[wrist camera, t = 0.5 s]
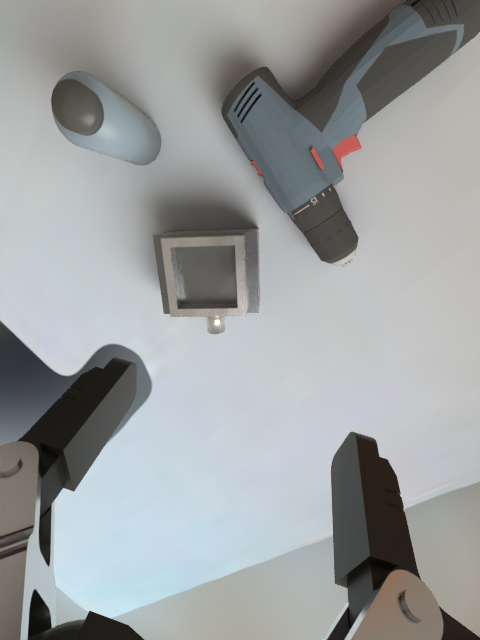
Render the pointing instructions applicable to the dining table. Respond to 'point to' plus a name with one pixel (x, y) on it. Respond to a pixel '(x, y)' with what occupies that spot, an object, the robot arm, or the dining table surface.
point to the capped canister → (103, 120)
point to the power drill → (340, 114)
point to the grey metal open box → (209, 273)
